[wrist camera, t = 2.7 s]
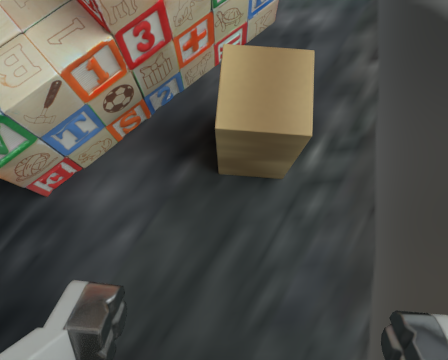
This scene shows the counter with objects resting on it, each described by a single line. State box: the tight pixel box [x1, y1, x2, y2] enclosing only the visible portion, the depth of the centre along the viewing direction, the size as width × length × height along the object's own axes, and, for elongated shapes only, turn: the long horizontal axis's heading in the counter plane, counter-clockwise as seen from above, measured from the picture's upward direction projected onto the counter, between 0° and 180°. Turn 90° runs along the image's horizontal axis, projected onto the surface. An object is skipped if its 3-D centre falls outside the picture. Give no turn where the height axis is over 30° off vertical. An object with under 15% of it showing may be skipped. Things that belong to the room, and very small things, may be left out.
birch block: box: [215, 44, 314, 179], centre depth 20 cm, size 4×4×9 cm
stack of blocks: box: [0, 0, 278, 197], centre depth 20 cm, size 21×6×12 cm, turn 131°
